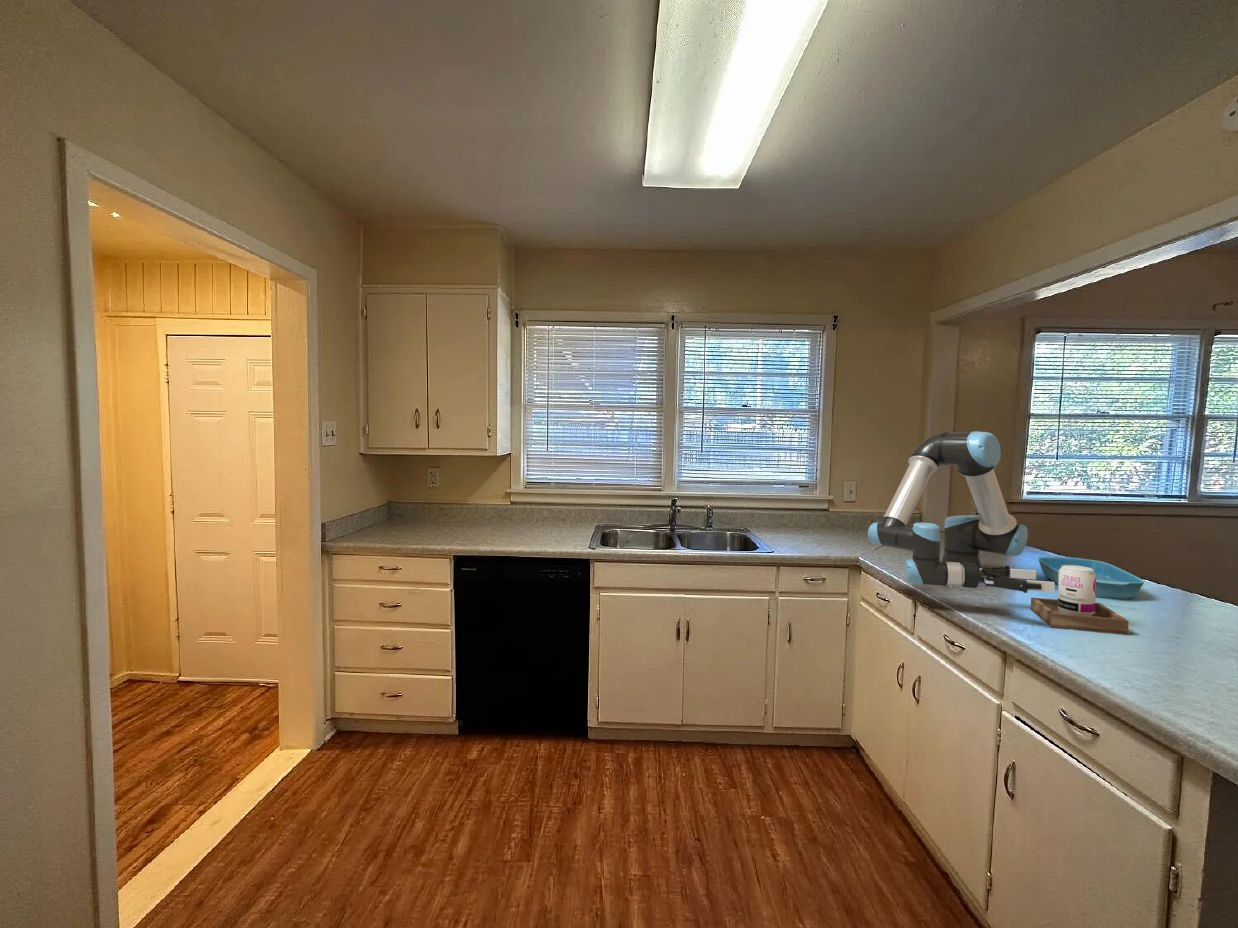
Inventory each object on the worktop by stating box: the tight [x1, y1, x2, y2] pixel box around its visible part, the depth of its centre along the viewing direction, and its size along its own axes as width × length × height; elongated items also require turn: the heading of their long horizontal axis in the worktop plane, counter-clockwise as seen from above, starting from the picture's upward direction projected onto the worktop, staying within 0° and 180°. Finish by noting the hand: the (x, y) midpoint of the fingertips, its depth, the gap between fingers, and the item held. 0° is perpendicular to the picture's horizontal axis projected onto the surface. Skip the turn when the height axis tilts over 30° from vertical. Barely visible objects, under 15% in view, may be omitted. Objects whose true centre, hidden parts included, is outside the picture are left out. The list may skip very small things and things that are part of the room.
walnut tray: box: [1030, 597, 1129, 636], centre depth 153 cm, size 16×17×4 cm
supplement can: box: [1057, 565, 1096, 617], centre depth 153 cm, size 8×8×15 cm
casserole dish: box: [1038, 555, 1145, 600], centre depth 187 cm, size 37×22×7 cm, turn 159°
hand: (1044, 580), depth 155 cm, fingers open, 13 cm apart
